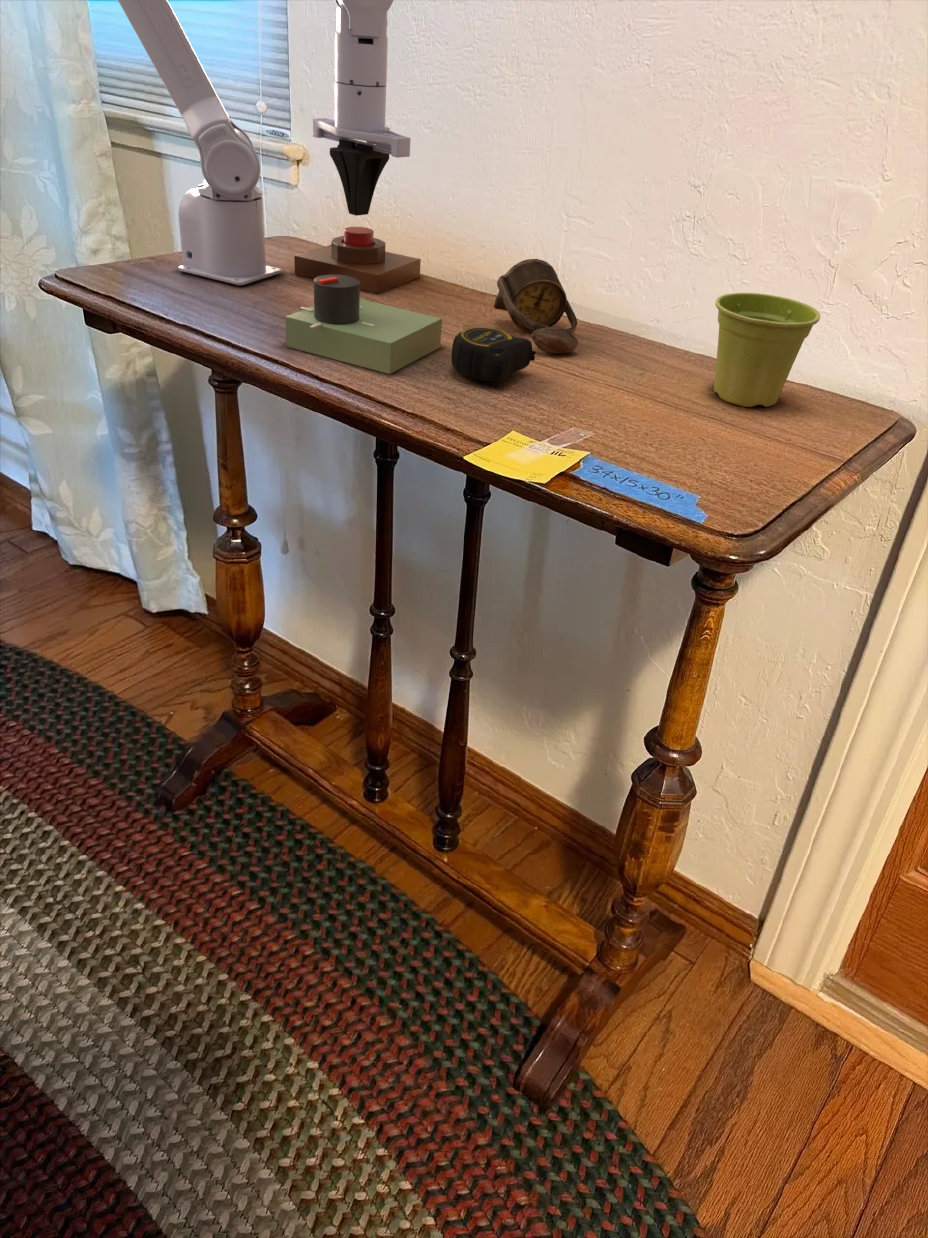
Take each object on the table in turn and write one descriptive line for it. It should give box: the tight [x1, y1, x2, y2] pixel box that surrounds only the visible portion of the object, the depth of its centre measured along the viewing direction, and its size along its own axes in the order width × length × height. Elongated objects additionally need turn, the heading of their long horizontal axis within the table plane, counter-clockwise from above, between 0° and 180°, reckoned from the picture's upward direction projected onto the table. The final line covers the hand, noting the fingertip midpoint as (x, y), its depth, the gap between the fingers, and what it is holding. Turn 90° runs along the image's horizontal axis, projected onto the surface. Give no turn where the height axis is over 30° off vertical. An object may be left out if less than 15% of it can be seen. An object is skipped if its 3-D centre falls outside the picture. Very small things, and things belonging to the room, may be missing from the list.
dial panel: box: [284, 298, 443, 375], centre depth 92 cm, size 12×11×3 cm
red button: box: [343, 226, 375, 246], centre depth 112 cm, size 4×4×2 cm
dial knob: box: [313, 275, 361, 324], centre depth 90 cm, size 4×4×4 cm
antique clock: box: [493, 258, 579, 354], centre depth 99 cm, size 7×13×10 cm
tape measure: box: [451, 327, 537, 382], centre depth 88 cm, size 7×7×4 cm
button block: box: [293, 235, 422, 294], centre depth 114 cm, size 12×10×4 cm
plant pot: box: [713, 292, 821, 408], centre depth 88 cm, size 9×9×9 cm
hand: (358, 213), depth 111 cm, fingers closed
